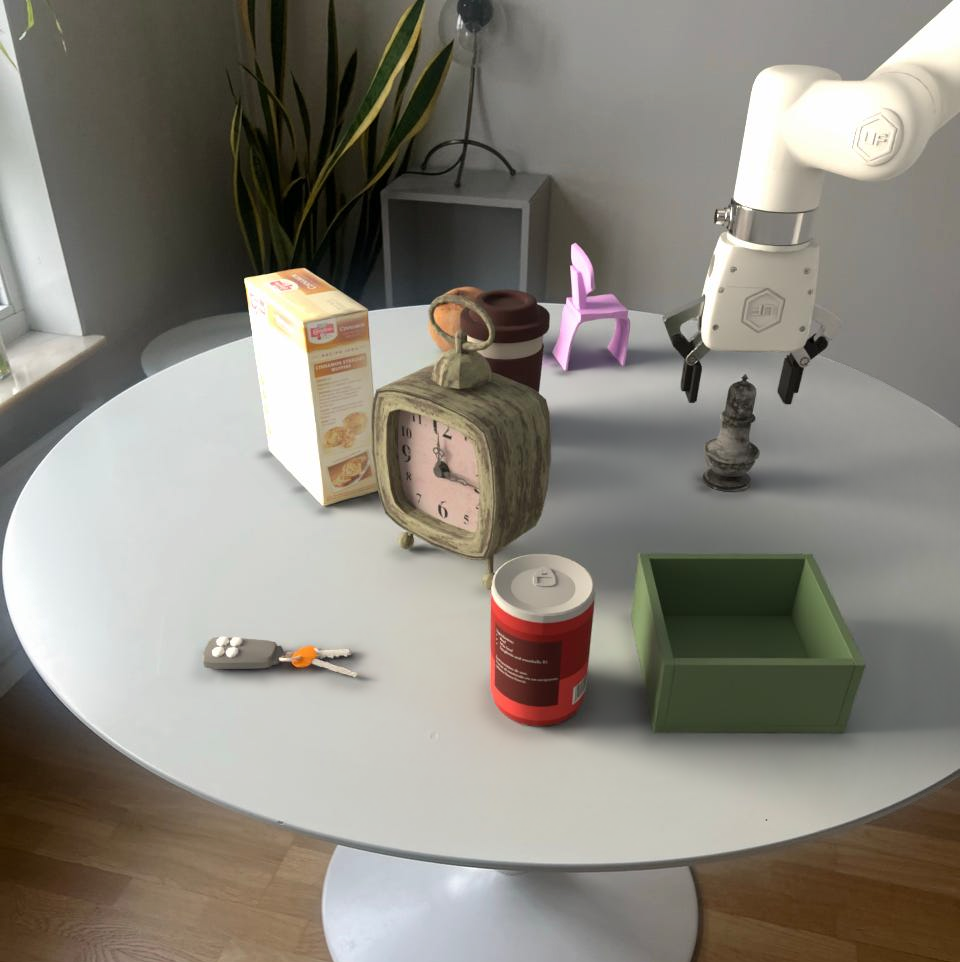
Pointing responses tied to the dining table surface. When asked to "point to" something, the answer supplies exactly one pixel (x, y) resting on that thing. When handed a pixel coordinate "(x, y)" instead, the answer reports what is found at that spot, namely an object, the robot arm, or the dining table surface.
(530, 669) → the canned food
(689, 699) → the green planter box
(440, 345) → the onion
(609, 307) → the toy chair
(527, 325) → the coffee cup
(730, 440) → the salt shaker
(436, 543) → the tabletop clock
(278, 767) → the dining table surface
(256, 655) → the key chain
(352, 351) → the coffeecake box
